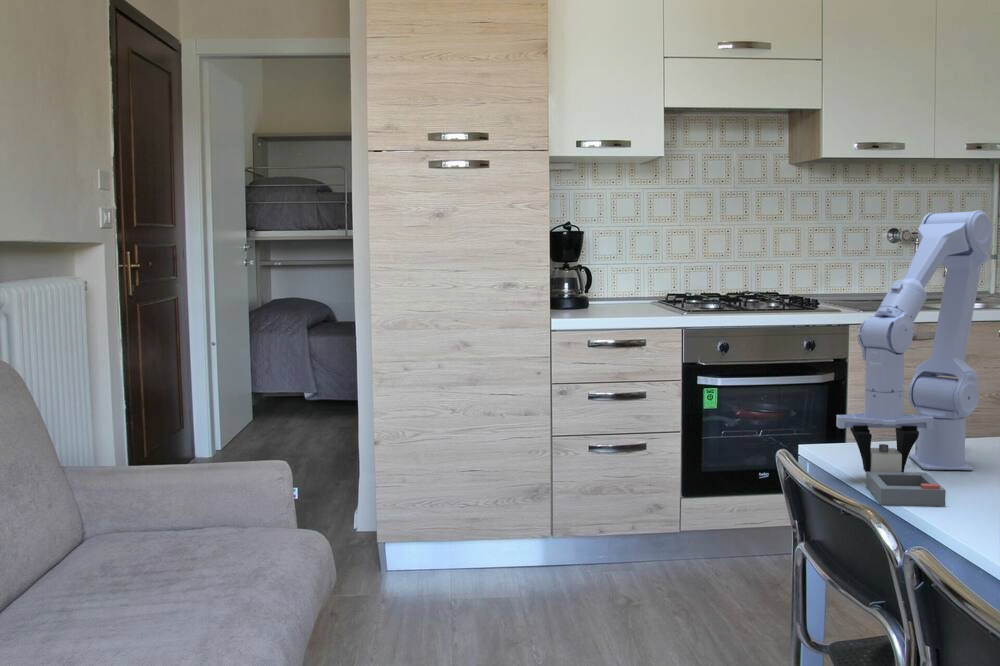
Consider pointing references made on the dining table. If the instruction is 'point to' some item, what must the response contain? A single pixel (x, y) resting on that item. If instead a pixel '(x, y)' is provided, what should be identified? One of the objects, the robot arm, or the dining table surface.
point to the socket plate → (905, 489)
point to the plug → (885, 459)
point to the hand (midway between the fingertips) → (883, 471)
